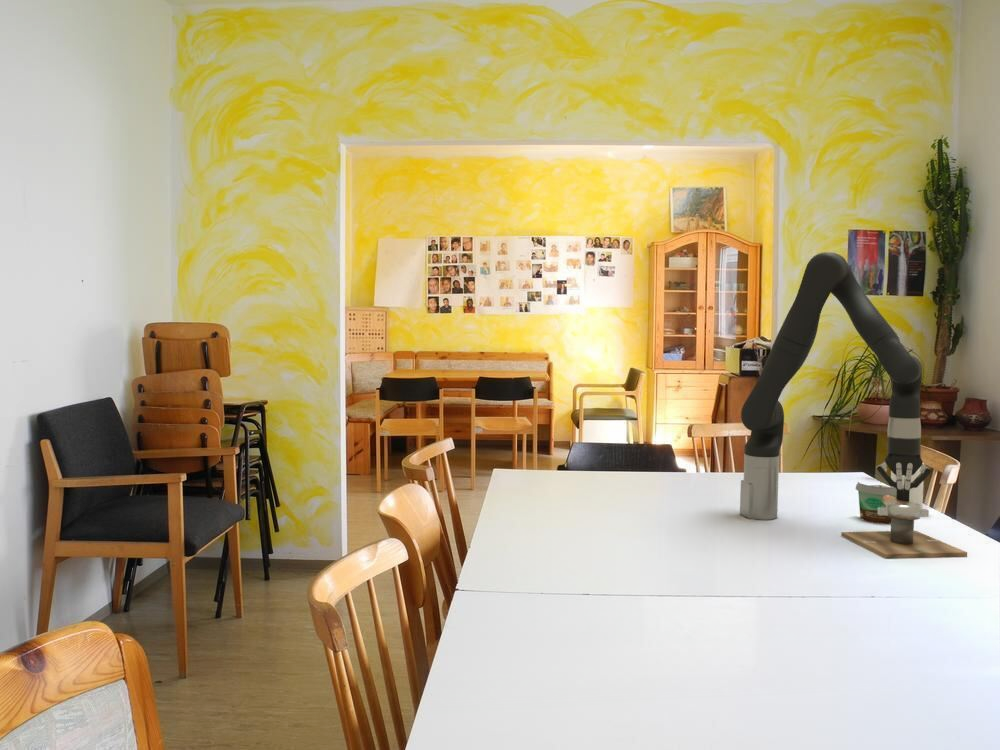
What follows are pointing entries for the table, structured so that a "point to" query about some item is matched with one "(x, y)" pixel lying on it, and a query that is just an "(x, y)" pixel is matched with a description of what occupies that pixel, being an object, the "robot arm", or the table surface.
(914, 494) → the potion bottle
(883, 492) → the food container
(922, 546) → the post base
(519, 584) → the table surface
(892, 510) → the collar
